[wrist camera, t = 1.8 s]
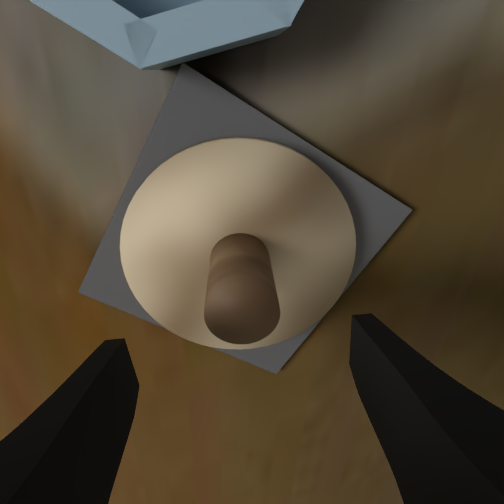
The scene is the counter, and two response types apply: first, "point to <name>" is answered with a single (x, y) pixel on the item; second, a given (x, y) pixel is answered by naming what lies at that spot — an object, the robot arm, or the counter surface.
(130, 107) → the counter surface
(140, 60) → the bowl
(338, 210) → the lid
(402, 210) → the mat
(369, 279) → the counter surface
